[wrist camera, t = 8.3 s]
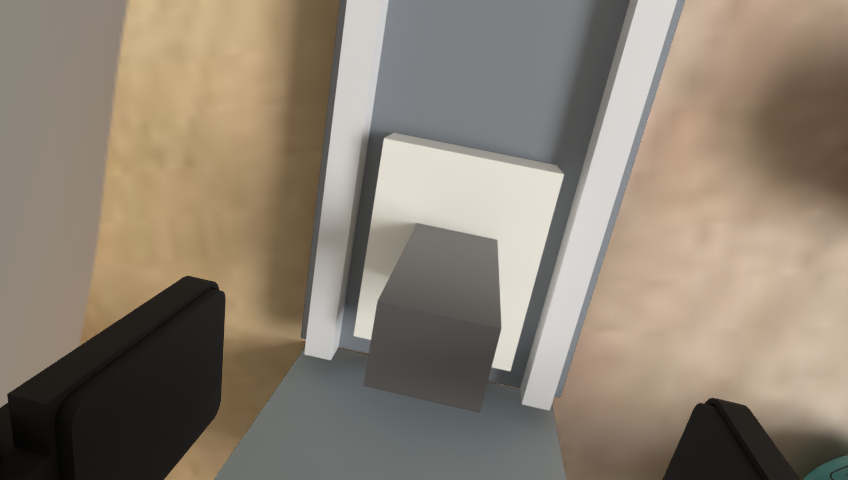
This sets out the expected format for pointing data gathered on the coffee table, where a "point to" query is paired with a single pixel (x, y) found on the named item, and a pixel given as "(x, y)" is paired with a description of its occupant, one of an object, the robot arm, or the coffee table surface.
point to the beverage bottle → (831, 470)
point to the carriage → (450, 266)
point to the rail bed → (489, 141)
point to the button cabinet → (389, 432)
